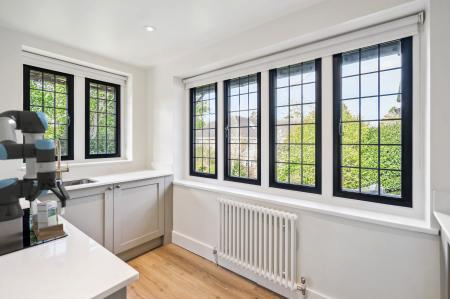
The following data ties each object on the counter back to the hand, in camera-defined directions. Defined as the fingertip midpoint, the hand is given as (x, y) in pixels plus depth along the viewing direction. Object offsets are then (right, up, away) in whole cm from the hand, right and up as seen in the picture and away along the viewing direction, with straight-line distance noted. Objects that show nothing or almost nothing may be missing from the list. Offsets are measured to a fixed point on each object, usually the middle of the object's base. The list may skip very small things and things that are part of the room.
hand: (48, 214), depth 114 cm
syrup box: (0, -8, 0) cm, 8 cm away
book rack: (-2, -10, +3) cm, 10 cm away
